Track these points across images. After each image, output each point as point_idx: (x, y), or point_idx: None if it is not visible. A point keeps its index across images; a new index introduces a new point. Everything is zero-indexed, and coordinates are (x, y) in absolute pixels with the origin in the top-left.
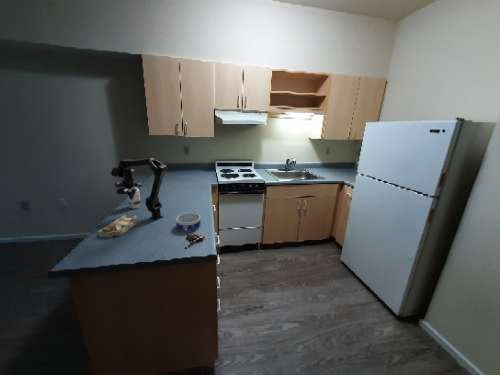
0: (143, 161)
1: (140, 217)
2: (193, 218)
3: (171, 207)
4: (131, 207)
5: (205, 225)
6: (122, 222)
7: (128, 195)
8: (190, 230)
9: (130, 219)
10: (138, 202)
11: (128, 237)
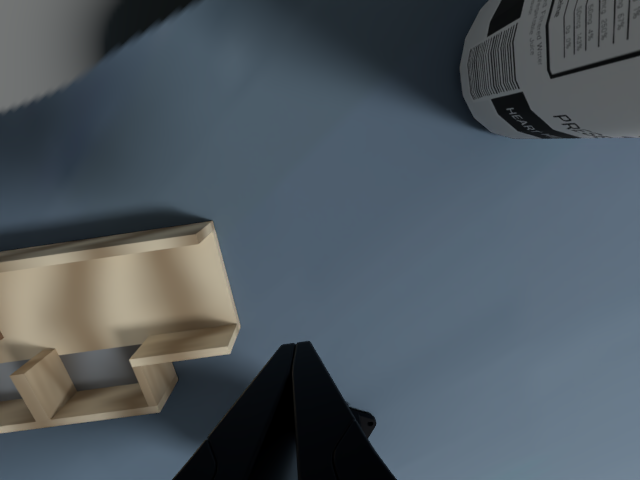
0: None
1: (285, 324)
2: None
3: (545, 418)
4: (463, 62)
5: None
6: (122, 270)
7: (203, 465)
8: None
9: (134, 367)
10: (556, 137)
11: (10, 455)
